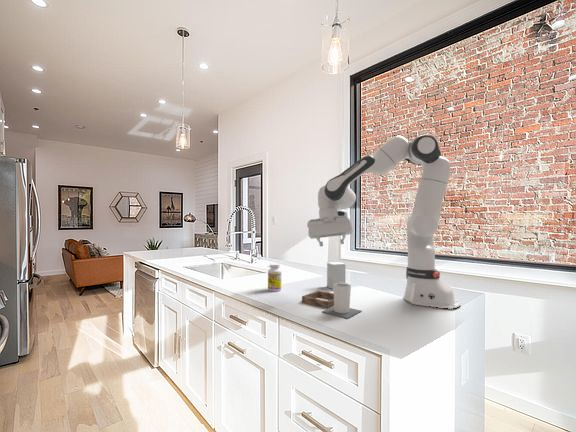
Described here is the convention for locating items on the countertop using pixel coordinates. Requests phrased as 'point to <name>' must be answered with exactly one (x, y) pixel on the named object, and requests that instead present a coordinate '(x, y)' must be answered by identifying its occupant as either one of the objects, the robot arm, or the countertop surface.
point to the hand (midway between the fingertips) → (331, 244)
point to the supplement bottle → (274, 277)
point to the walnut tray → (312, 299)
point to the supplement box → (335, 273)
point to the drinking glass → (342, 297)
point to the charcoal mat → (343, 315)
